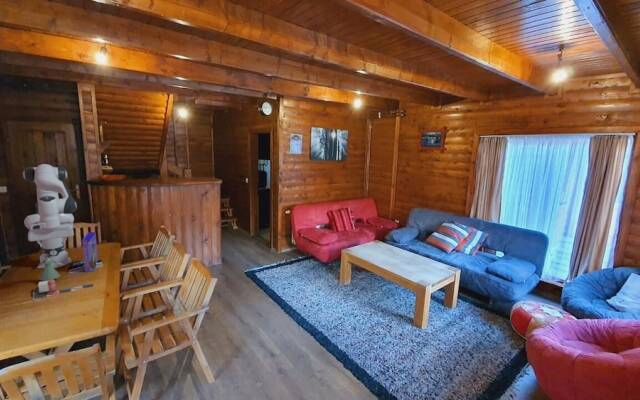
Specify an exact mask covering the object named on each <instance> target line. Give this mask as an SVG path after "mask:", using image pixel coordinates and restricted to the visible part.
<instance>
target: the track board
mask: <svg viewBox="0 0 640 400" xmlns="http://www.w3.org/2000/svg"><path fill="white" fill-rule="evenodd" d="M91 287H92V288H93V287H94V283H90V284H84V285H80V286H76V287H75V286H74V287H71V288H66V289H61V290H56V291H57V294H55V295H59V294H64V293H69V292H74V291H78V290H82V289H88V288H91ZM55 295H54V296H55ZM51 296H52V297H53V295H48V293H45V294H41V295H37V296H33V295H32V301H33V300H34V301H38V300H42V299H45V298H46V297H51Z"/></svg>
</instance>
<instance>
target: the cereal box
mask: <svg viewBox="0 0 640 400" xmlns="http://www.w3.org/2000/svg"><path fill="white" fill-rule="evenodd" d="M81 242H82V251H83V262H84V270H85V271H84V273H91V272H95V270H96V267H97V266H96V263H97V261H98V262H99V258H98V245H97V234H96V231H93V232H92V231H91V232H87V233H86V234H85V236H84V237H83V238H82V239H81Z"/></svg>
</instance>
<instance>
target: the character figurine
mask: <svg viewBox="0 0 640 400" xmlns="http://www.w3.org/2000/svg"><path fill="white" fill-rule="evenodd" d="M45 258H46V259H45V260H44V261H43V262H41V263H38V264H36V265H35V266H34V267H32V268H31V269H30V270H29V271H30V272H32V271H34V270H36V268H37V266H40V265H42V264H43V263H45V267H44V268H43V270H42V272H41V274H40V276H39V278H38V280H39V281H48V280H51V279H53V280H55V281H56V279H58V278H59V277H61V274H59V272H58V271H57V270H56V268H53V266H52V265H51V263H52V262H54V263H59V262H57V261H54V260H52V259H49V258H50V256H49V255H46V256H45ZM59 264H62V263H59ZM62 265H63V264H62Z"/></svg>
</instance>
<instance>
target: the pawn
mask: <svg viewBox="0 0 640 400" xmlns="http://www.w3.org/2000/svg"><path fill="white" fill-rule="evenodd" d="M47 283H48V288H49V292H48V295H52V296H55V294H56V295H58V294H57V291H58V290H57V286H56V287H55V283H56V279H55V280H53V279H51V280H49V281H48V282H47Z"/></svg>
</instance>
